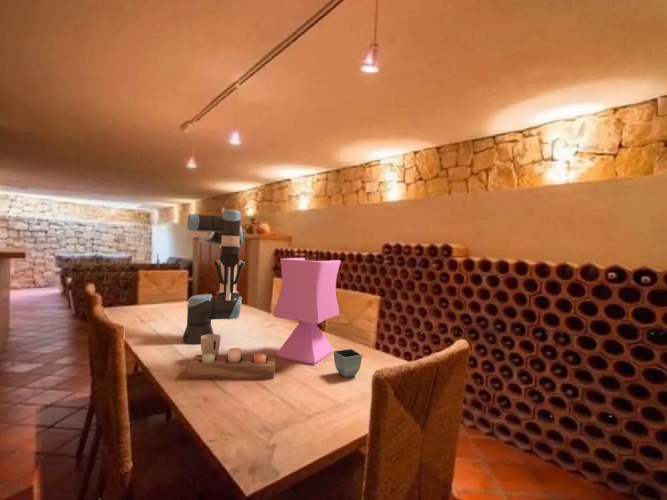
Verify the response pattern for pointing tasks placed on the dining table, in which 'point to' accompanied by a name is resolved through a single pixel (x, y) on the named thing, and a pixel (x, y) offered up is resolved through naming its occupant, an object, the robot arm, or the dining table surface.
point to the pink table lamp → (307, 307)
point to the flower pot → (347, 362)
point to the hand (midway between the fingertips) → (228, 299)
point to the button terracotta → (260, 358)
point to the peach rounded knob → (234, 355)
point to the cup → (210, 343)
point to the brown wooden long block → (232, 368)
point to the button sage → (208, 357)
